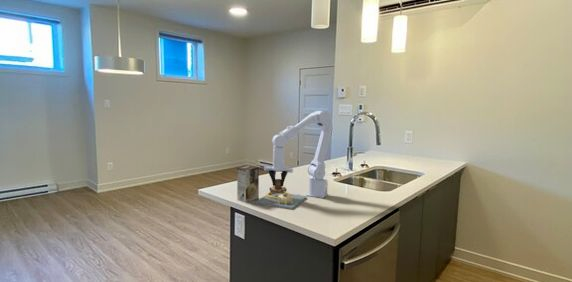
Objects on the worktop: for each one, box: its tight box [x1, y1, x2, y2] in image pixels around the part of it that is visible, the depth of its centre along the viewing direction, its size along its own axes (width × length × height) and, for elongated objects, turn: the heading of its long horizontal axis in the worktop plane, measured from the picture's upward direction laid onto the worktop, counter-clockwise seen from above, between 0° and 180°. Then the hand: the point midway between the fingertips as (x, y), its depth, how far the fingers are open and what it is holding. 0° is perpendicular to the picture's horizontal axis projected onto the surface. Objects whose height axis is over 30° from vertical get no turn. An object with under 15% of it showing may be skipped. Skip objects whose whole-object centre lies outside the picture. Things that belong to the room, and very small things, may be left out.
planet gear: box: [269, 178, 288, 193], centre depth 157 cm, size 9×9×6 cm
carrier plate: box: [254, 191, 307, 210], centre depth 153 cm, size 19×19×5 cm
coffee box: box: [236, 164, 260, 203], centre depth 154 cm, size 9×6×16 cm
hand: (278, 185), depth 157 cm, fingers closed on planet gear, 4 cm apart
